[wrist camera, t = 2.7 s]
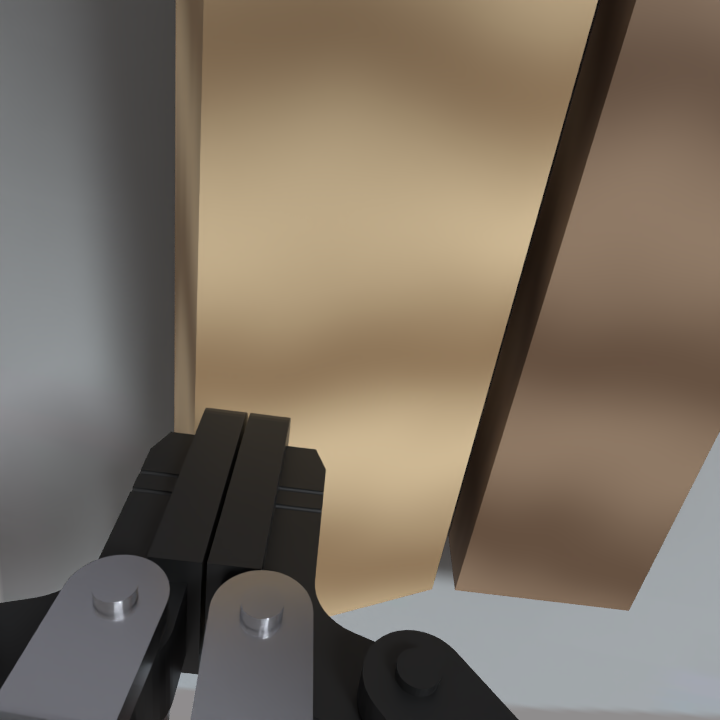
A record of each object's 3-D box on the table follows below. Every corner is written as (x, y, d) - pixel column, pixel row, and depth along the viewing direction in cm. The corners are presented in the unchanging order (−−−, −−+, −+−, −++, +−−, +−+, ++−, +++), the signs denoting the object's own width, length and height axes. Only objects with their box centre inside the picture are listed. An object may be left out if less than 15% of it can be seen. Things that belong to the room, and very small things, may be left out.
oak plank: (176, -243, 11) (209, -271, 9) (559, -141, 14) (640, -148, 13) (173, 588, 21) (189, 653, 19) (400, 537, 25) (431, 589, 23)
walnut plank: (636, -125, 15) (679, -140, 13) (896, -80, 15) (981, -87, 13) (448, 535, 25) (454, 590, 23) (607, 555, 25) (628, 610, 23)
